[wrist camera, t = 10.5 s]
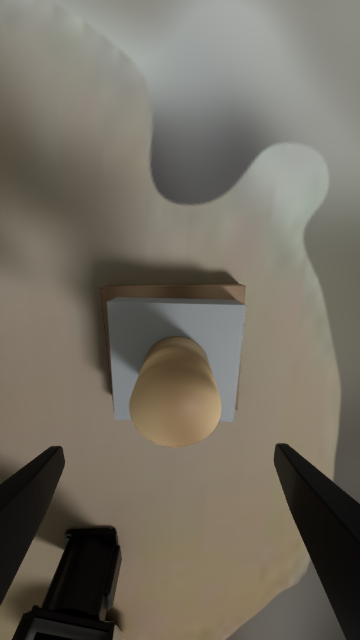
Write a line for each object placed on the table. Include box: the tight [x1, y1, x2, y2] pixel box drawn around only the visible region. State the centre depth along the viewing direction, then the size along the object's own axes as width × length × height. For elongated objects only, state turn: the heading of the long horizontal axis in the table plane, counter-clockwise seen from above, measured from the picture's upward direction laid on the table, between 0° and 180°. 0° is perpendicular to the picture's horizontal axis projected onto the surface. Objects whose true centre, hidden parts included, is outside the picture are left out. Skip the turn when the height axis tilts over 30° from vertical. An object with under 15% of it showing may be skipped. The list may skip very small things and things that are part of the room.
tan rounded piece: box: [129, 336, 222, 447], centre depth 13 cm, size 5×5×5 cm
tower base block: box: [100, 284, 246, 410], centre depth 20 cm, size 12×12×2 cm
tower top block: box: [107, 297, 246, 422], centre depth 17 cm, size 10×10×2 cm
